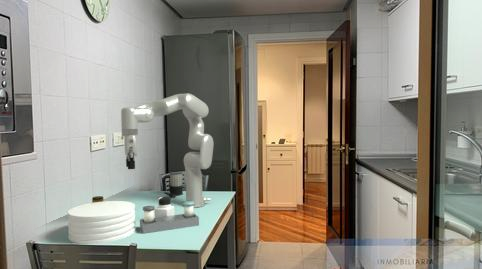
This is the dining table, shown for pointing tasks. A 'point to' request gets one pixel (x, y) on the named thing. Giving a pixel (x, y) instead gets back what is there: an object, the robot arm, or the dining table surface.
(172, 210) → the medicine bottle
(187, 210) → the knob
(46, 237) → the dining table surface
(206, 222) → the dining table surface
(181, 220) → the mount
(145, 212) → the knob
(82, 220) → the plate stack
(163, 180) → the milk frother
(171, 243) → the dining table surface
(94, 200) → the condiment
